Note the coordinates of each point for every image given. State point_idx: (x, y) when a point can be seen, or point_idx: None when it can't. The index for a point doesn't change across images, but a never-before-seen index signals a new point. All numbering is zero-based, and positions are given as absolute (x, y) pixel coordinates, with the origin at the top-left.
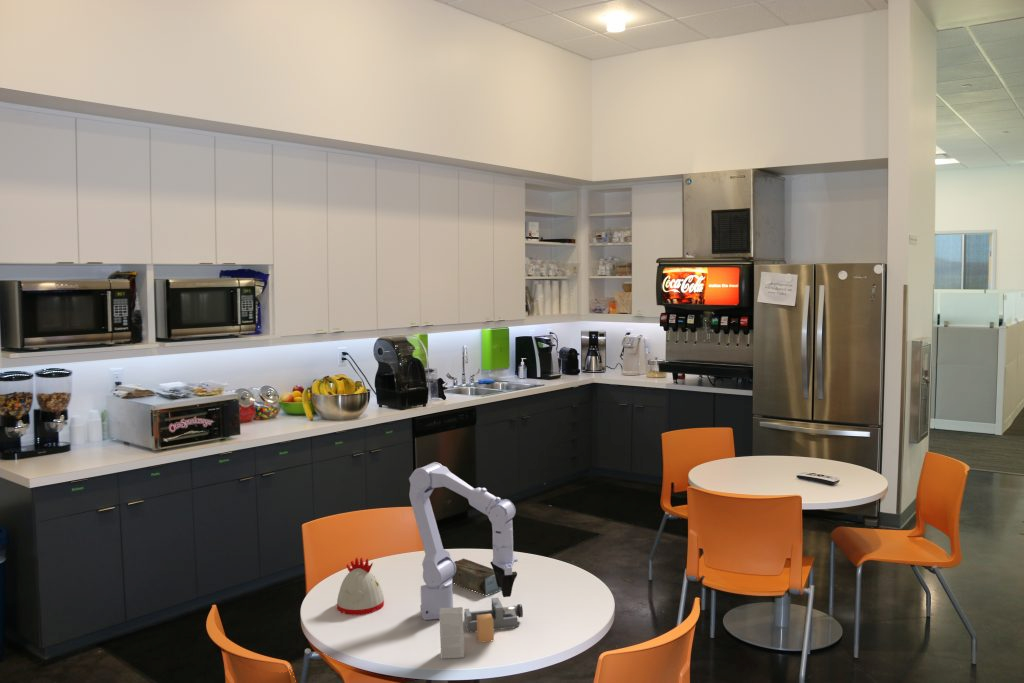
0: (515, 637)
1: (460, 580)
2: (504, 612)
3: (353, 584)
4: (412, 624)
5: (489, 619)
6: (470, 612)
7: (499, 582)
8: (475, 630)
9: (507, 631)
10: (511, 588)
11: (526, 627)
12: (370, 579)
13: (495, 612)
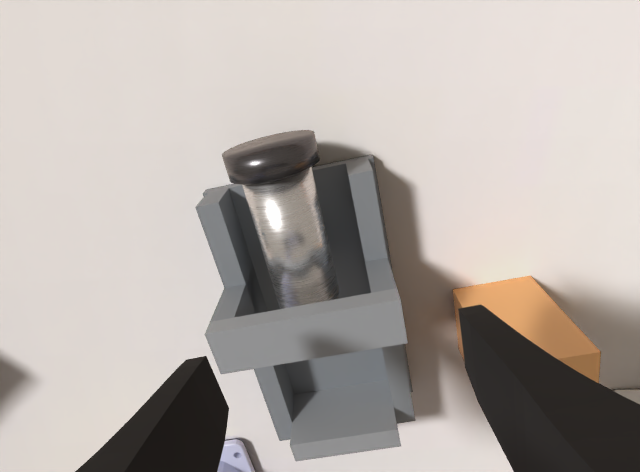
0: (516, 165)
1: None
2: (329, 260)
3: None
4: None
5: (596, 372)
6: (280, 416)
7: (212, 437)
8: (407, 361)
9: (424, 211)
10: (540, 353)
11: (379, 97)
12: None
13: (253, 297)
